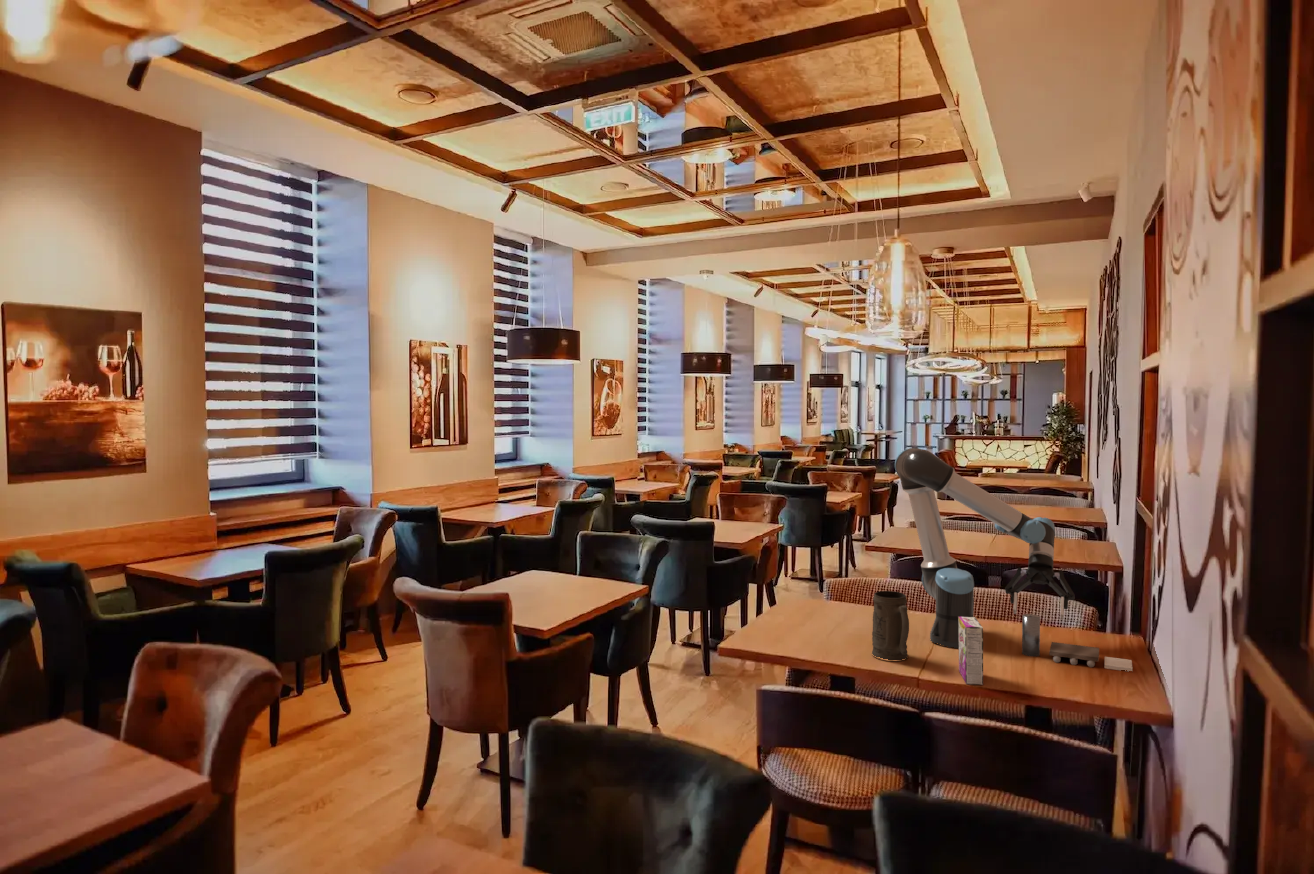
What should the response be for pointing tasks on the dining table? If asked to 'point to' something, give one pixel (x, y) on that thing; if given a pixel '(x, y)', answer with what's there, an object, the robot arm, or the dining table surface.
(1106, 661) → the plate
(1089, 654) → the roller slab
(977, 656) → the candy bar box
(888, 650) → the beer stein
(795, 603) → the dining table surface
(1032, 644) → the steel roller
